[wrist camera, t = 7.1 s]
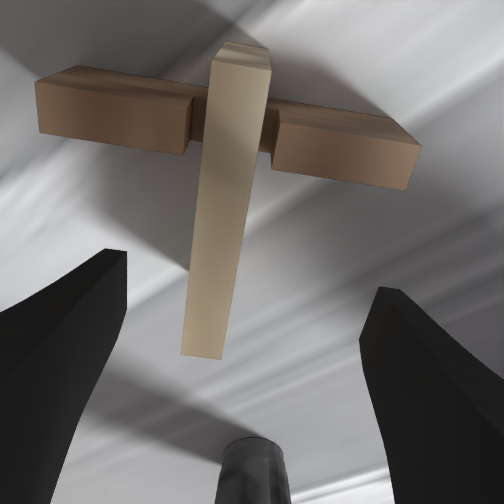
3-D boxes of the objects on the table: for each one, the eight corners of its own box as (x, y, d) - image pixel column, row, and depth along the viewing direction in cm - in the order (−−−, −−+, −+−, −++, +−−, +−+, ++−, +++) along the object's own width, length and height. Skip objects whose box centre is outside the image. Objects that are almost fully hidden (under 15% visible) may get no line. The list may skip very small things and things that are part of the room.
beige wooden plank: (268, 49, 18) (271, 71, 13) (229, 281, 24) (221, 359, 19) (225, 41, 18) (211, 60, 12) (197, 277, 24) (180, 354, 19)
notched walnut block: (393, 118, 19) (421, 145, 16) (380, 157, 20) (405, 190, 17) (76, 65, 18) (34, 81, 15) (79, 108, 19) (39, 132, 16)
